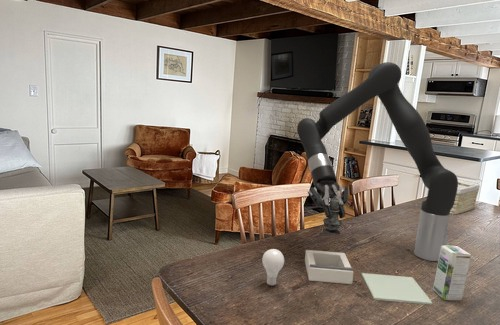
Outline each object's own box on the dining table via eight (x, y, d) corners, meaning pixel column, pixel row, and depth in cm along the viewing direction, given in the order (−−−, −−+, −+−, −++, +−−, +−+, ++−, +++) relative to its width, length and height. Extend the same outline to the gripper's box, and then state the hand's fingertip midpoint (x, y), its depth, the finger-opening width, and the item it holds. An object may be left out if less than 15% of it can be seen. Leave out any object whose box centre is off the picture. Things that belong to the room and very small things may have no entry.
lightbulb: (284, 282, 104) (287, 247, 102) (279, 292, 98) (282, 256, 96) (264, 277, 106) (266, 243, 104) (257, 287, 100) (260, 252, 98)
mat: (412, 279, 111) (412, 277, 111) (432, 304, 97) (432, 302, 97) (361, 274, 111) (361, 273, 111) (374, 299, 98) (374, 297, 98)
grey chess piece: (341, 236, 106) (345, 199, 104) (321, 234, 107) (325, 197, 105) (340, 229, 112) (344, 193, 110) (322, 227, 113) (325, 191, 111)
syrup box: (431, 289, 105) (439, 244, 102) (450, 289, 106) (458, 245, 103) (443, 300, 99) (452, 253, 97) (463, 300, 100) (472, 254, 97)
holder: (343, 264, 118) (344, 250, 117) (351, 284, 105) (353, 269, 104) (304, 260, 119) (306, 247, 118) (308, 280, 106) (310, 265, 105)
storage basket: (455, 216, 179) (460, 188, 176) (425, 207, 192) (429, 181, 189) (476, 210, 193) (481, 184, 190) (446, 201, 206) (451, 177, 203)
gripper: (306, 164, 111) (320, 213, 102) (345, 164, 115) (362, 211, 106) (298, 176, 117) (311, 224, 108) (335, 175, 121) (351, 221, 112)
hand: (336, 217), depth 107 cm, fingers closed on grey chess piece, 3 cm apart
